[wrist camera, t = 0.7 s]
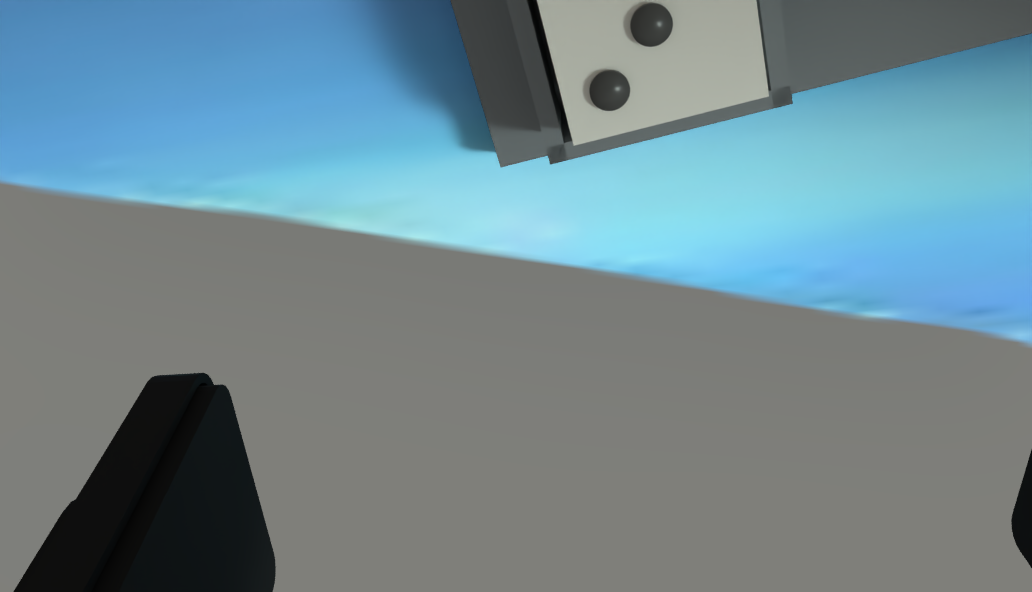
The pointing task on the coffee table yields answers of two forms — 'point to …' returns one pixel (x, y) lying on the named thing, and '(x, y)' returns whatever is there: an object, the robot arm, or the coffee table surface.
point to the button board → (786, 47)
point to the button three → (651, 60)
